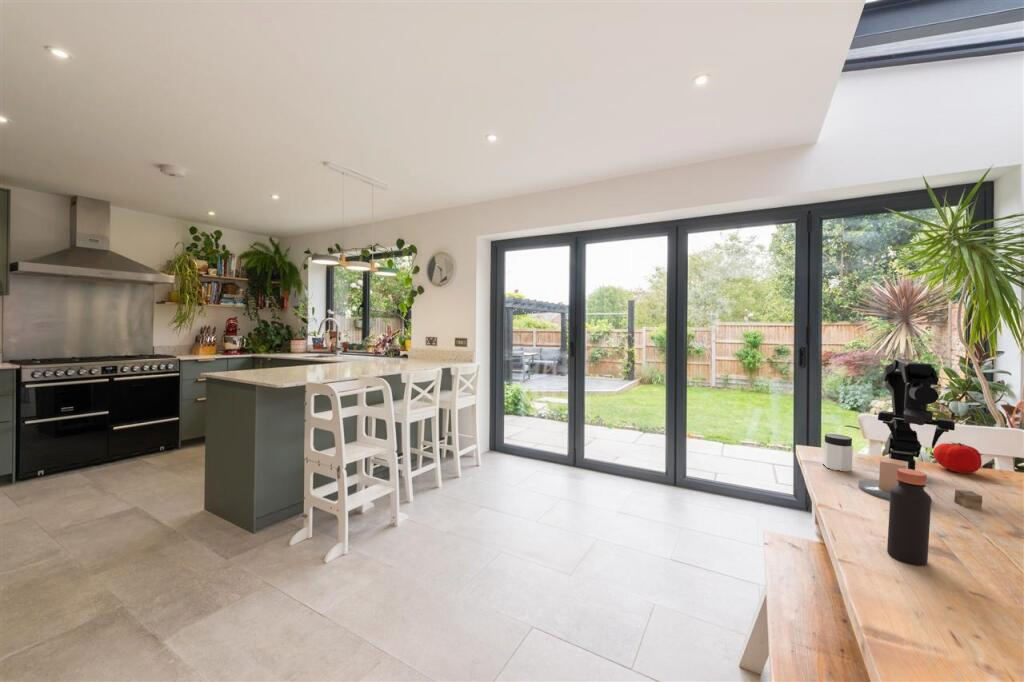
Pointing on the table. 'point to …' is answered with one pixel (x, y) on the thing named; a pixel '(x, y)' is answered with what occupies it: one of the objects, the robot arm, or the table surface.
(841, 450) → the jar
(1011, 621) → the table surface
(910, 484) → the bottle
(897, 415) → the robot arm
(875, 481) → the plate
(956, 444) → the tomato
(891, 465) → the tan rectangular block
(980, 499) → the block
